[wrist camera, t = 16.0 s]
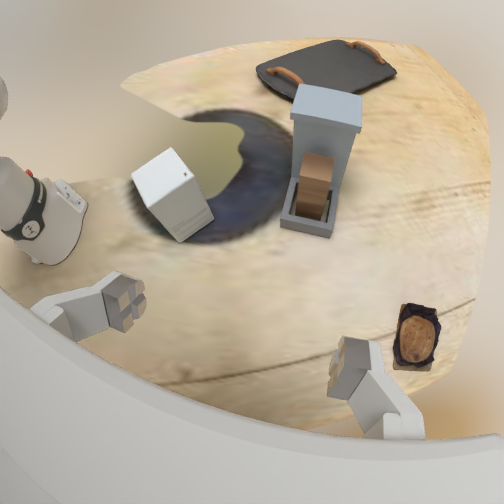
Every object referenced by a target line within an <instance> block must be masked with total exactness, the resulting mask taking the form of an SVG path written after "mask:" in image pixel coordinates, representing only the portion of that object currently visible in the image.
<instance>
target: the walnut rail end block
mask: <svg viewBox="0 0 504 504" xmlns="http://www.w3.org/2000/svg"><path fill="white" fill-rule="evenodd" d="M334 160H335V158H331V157H327V156H322V155H318V154H313V153H308V152H305V154H304V158H303V162H302V166H301V171H300V175H299V184H298V194H297V203H296V212H295V216H299V217H303V218H308V219H312V220H316V221H320V219H321V216H322V212H323V209H324V205H325V202H326V199H327V195H328V191H329V188H330V184H331V180H332V173H333V166H334Z"/></svg>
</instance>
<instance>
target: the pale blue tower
mask: <svg viewBox="0 0 504 504" xmlns="http://www.w3.org/2000/svg"><path fill="white" fill-rule="evenodd" d="M290 119H292V120H294V132H293V155H292V174H291V180H290V184H289V187H288V191H287V195H286V199H285V203H284V207H283V211H282V214H281V218H280V227H282V228H286V229H291V230H295V231H300V232H304V233H308V234H313V235H317V236H321V237H325V238H330V236H331V233H332V231H333V226H334V220H335V214H336V208H337V201H338V194H339V187H340V184H341V181H342V178H343V175H344V172H345V168H346V165H347V162H348V159H349V156H350V152H351V149H352V146H353V142H354V139H355V136H356V133H359V134H360V132H361V128H362V96H359V95H355V94H351V93H347V92H342V91H338V90H333V89H328V88H323V87H318V86H312V85H306V84H299V86H298V89H297V93H296V96H295V99H294V102H293V106H292V109H291V112H290ZM305 152H308V153H313V154H318V155H322V156H327V157H331V158H335V160H334V166H333V173H332V180H331V184H330V188H329V191H328V195H327V199H328V200H330V202H329V208H328V214H327V220H326V223H325V222H321V221H316V220H312V219H308V218H303V217H299V216H294V215H290V212H291V208H292V204H293V200H294V196H295V192H297V193H298V184H299V175H300V171H301V166H302V162H303V158H304V154H305Z"/></svg>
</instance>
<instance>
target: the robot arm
mask: <svg viewBox="0 0 504 504" xmlns="http://www.w3.org/2000/svg"><path fill="white" fill-rule="evenodd" d="M7 106H8V92H7V88H6V85H5V83H4V81H3V79H2V78H1V77H0V119H1V118H2V116H3V115H4V113H5V112H6V110H7ZM87 206H88V204H87V202H86V201H85V200H84V199H83V198H82V197H81V196H80V195H79V194H78V193H77V192H76V191H75V190H74V189H73V188H72V187H70V186H69V185H68V184H67V183H66V182H65V181H64V180H63V179H60V180H57V181H56V182H54V183H53V182H52V181H50V179H48V178H44V179H42V180H39V179H37V178H34V177H33V174H32V172H31V171H30V170H28V169H27V170H26V172H24V171H23V170H22V169H21V168H20V167H19V166H18V165H17V164H16V163H15V162H14V161H13V160H11V159H10V158H7V157H0V229H1V231H2V232H3V233H4V234H5V235H6V236H8V237H9V238H12V239H13V240H14V241H15V245H16V246H17V247H18V248H19V249H21V250H22V251H24V252H25V253H27V254H28V255H30V256H31V260H32V262H33V263H34V264H40V263H45V264H47V265H55V264H57V263H59V262H61V261H62V260H64V259H65V258H66V257H67V256H68V255H69V253H70V252H71V251H72V249H73V248H74V246H75V244H76V242H77V240H78V238H79V235H80V231H81V227H82V219H83V216H84V214H85V211H86V209H87ZM144 290H145V287H144V282H143V281H142V280H139V279H136V278H134V277H131V276H128V275H126V274H123V273H120V272H118V271H112V272H111V273H109V274H108V275H107V276H105V277H104V278H103V279H101V280H100V281H99V282H97V283H96V284H95V285H93V286H92V287H89V286H88V287H84V288H80V289H76V290H72V291H67V292H63V293H59V294H55V295H51V296H46V297H44V298H43V299H41V300H40V301H39V302H38V303H36V304H35V305H34V306H32V307H31V308H30V309H29V310H28V309H26V308H25V307H24V306H23V305H21V304H20V303H19V302H18V301H16V300H15V299H14V298H13V297H11V296H10V295H9V294H8V293H7V292H5V291H4V290H3V289H2V288H1V287H0V504H504V438H503V437H502V436H501V435H500V434H497V433H493V434H486V435H479V436H472V437H463V438H454V439H440V440H425V432H424V424H423V417H422V413H421V412H420V411H419V410H418V408H417V407H416V406H415V405H414V404H413V402H412V401H411V400H410V399H409V397H408V396H407V395H406V394H405V393H404V391H403V390H402V389H401V388H400V387H399V385H398V384H397V383H396V382H395V381H394V379H393V378H392V377H391V376H390V375H389V374H388V373H385V370H384V362H383V355H382V349H381V343H380V342H378V341H371V340H364V339H358V338H353V337H348V336H342V337H341V339H340V341H339V343H338V350H336V351H335V352H334V354H333V356H332V359H331V362H330V367H329V375H330V377H331V378H330V380H329V382H328V388H327V397H332V398H337V399H342V400H348V401H347V402H348V403H349V405H350V407H351V409H352V411H353V413H354V415H355V417H356V418H357V421H358V422H359V425H360V426H361V428H362V430H363V432H364V434H365V435H364V436H363V437H362V438H356V437H346V436H338V435H331V434H323V433H318V432H312V431H306V430H301V429H295V428H291V427H286V426H281V425H277V424H272V423H268V422H264V421H260V420H256V419H253V418H249V417H245V416H242V415H238V414H235V413H232V412H228V411H225V410H222V409H219V408H216V407H213V406H210V405H207V404H204V403H201V402H198V401H196V400H193V399H190V398H188V397H185V396H182V395H180V394H177V393H175V392H172V391H170V390H168V389H165V388H163V387H161V386H158V385H156V384H154V383H151V382H149V381H147V380H145V379H143V378H141V377H138V376H136V375H134V374H132V373H130V372H128V371H126V370H124V369H122V368H120V367H118V366H116V365H114V364H113V363H111V362H109V361H107V360H105V359H103V358H101V357H100V356H98V355H96V354H94V353H93V352H91V351H89V350H87V349H86V348H84V347H82V346H81V345H79V344H77V343H76V342H78V341H80V340H82V339H85V338H87V337H89V336H92V335H94V334H96V333H98V332H101V331H103V330H105V329H108V328H110V327H111V328H114V329H116V330H118V331H121V332H123V333H126V332H127V331H128V330H129V328H130V327H131V326H132V325H133V324H134V321H133V320H135V319H138V318H140V317H141V316H142V314H143V313H144V310H145V308H146V298H145V296H144V294H143V293H142V292H143V291H144Z"/></svg>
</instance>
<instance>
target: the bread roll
mask: <svg viewBox="0 0 504 504" xmlns="http://www.w3.org/2000/svg"><path fill="white" fill-rule="evenodd" d="M440 330H441V325H440V323H439V322H438V318H437V311H436V309H435V308H427V307H424V306H423V305H417V304H413V303H407V304H402V305H401V309H400V314H399V319H398V324H397V332H396V339H395V340H394V347H393V350H394V362H393V369H394V370H408V371H430V369H431V366H432V362H433V361H434V357H433V355H434V350H435V348H436V346H437V343H438V341H439V340H438V337H439V334H440Z"/></svg>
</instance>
